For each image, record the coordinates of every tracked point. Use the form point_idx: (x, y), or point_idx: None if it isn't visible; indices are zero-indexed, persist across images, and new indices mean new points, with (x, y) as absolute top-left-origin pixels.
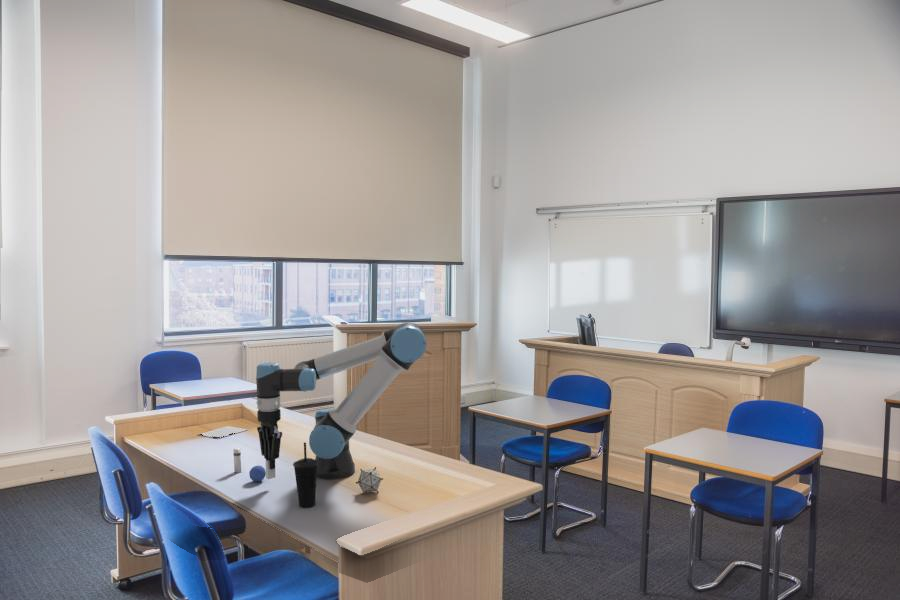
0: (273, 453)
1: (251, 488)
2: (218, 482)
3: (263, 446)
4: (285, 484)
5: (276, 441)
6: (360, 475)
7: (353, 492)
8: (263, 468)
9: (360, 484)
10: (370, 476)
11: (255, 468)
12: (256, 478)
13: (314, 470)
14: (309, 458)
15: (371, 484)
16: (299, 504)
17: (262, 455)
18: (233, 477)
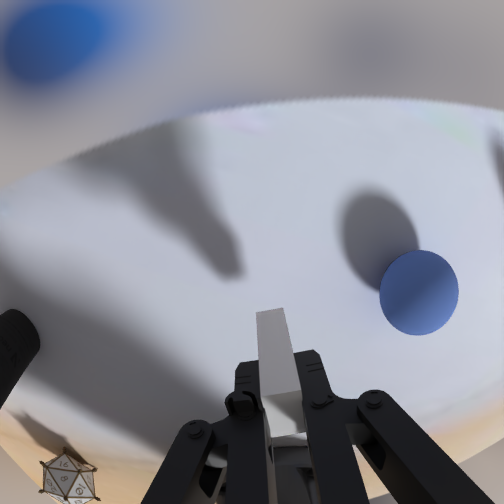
0: (161, 470)
1: (330, 220)
2: (483, 133)
3: (395, 463)
4: None
5: None
6: (65, 486)
7: (87, 448)
8: (412, 332)
9: (55, 464)
10: (43, 484)
11: (426, 294)
12: (386, 272)
13: None
14: None
15: (43, 468)
16: (10, 312)
17: (367, 392)
18: (496, 206)
